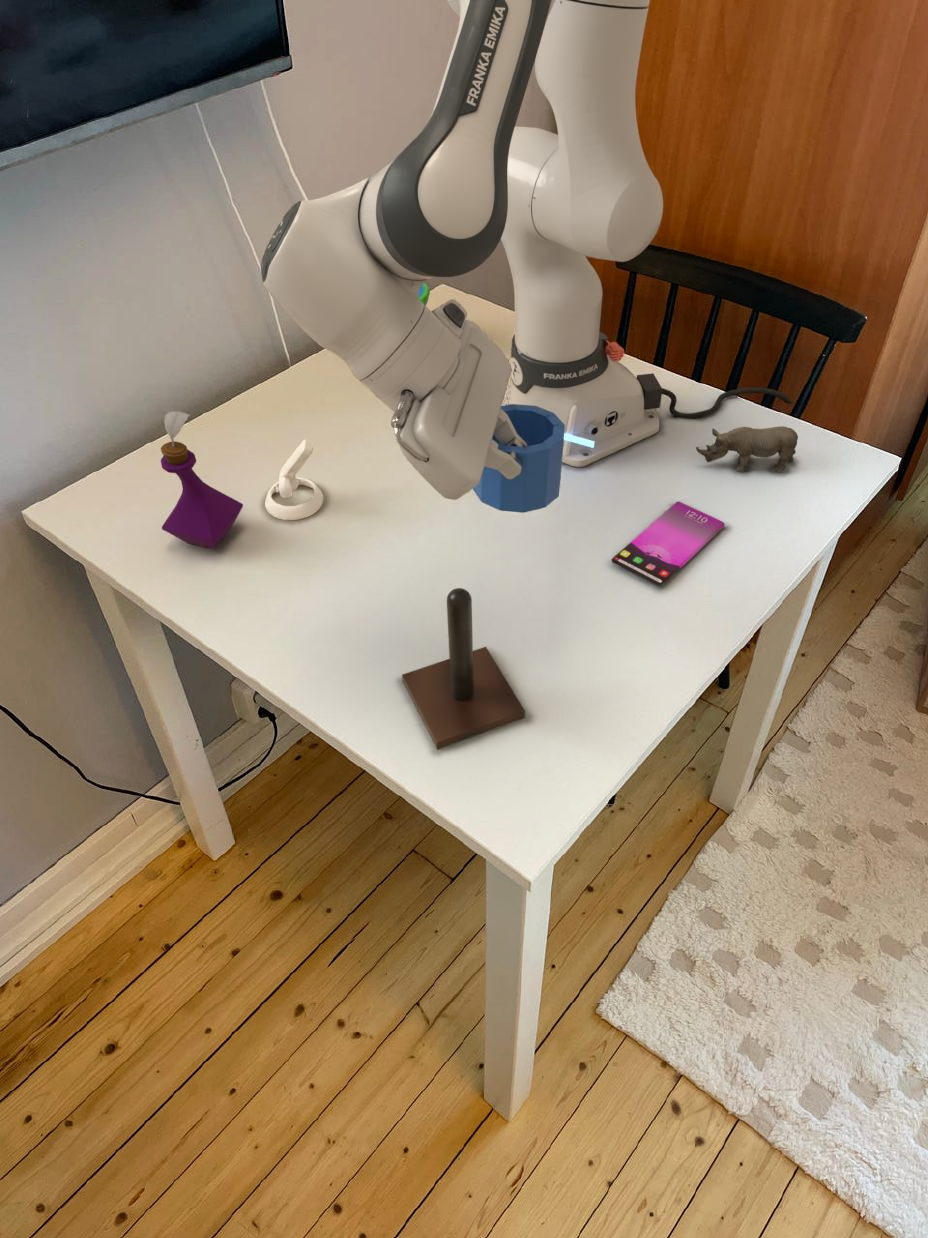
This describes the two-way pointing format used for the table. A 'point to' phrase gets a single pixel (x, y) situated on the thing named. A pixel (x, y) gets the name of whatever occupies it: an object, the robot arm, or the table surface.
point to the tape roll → (527, 463)
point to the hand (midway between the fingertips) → (519, 462)
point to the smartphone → (668, 543)
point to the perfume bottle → (194, 495)
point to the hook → (294, 487)
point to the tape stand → (462, 684)
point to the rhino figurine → (754, 445)
